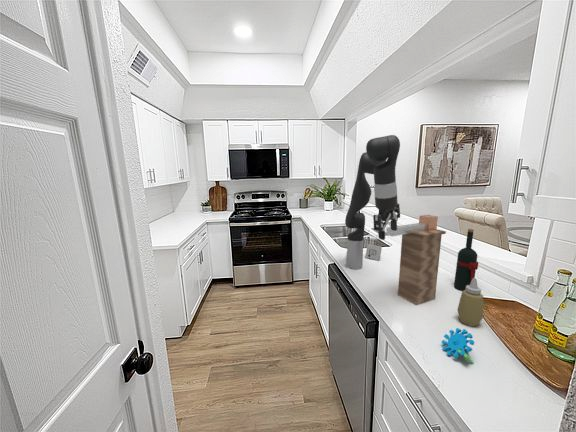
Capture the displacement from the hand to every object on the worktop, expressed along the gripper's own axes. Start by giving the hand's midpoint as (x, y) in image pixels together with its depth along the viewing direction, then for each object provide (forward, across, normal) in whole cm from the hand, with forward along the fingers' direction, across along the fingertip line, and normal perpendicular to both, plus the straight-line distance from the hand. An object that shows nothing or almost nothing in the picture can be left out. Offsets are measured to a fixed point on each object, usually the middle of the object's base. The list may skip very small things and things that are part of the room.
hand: (388, 234), depth 95 cm
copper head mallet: (+7, +17, 0) cm, 19 cm away
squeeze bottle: (+38, +13, -24) cm, 47 cm away
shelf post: (+39, +16, -2) cm, 43 cm away
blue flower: (+33, -9, -27) cm, 44 cm away
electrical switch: (+47, +45, +39) cm, 76 cm away
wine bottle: (+46, +41, -14) cm, 63 cm away
